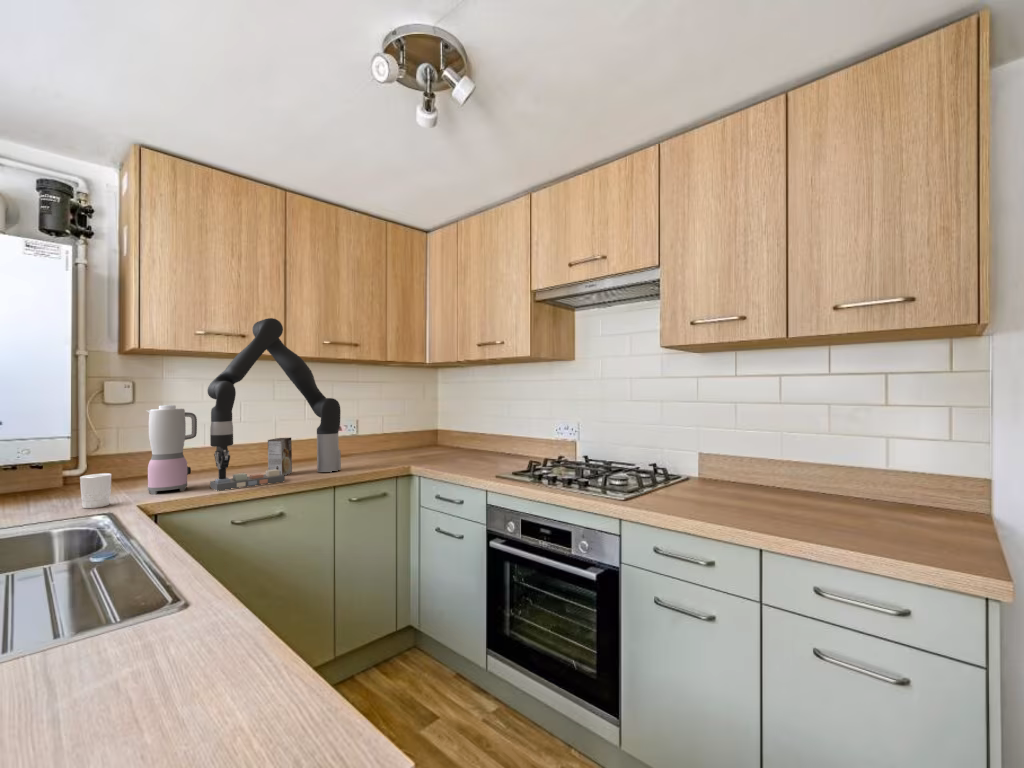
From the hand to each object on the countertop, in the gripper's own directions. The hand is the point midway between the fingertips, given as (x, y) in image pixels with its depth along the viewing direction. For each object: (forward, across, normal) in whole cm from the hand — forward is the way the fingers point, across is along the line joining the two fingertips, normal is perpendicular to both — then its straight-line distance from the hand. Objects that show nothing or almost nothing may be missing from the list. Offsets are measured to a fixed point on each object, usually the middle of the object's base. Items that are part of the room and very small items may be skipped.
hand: (222, 478), depth 187 cm
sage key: (+2, 0, -6) cm, 6 cm away
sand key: (+2, 0, -18) cm, 18 cm away
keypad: (+4, 0, -9) cm, 10 cm away
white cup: (+4, -2, +37) cm, 37 cm away
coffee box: (+4, +14, -26) cm, 30 cm away
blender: (+4, +10, +14) cm, 18 cm away
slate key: (+3, 0, 0) cm, 3 cm away
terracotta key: (+3, 0, -12) cm, 12 cm away
